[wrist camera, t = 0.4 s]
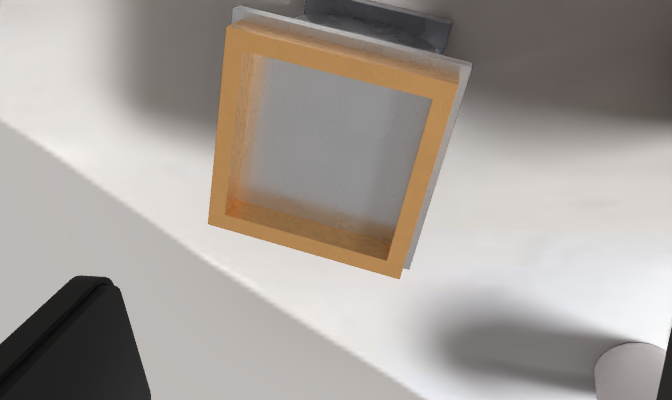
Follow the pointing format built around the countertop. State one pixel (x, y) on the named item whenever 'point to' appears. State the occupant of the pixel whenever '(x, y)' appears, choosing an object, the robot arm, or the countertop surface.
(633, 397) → the coffee cup
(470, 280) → the countertop surface
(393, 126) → the tray on grey cylinder
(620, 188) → the countertop surface
